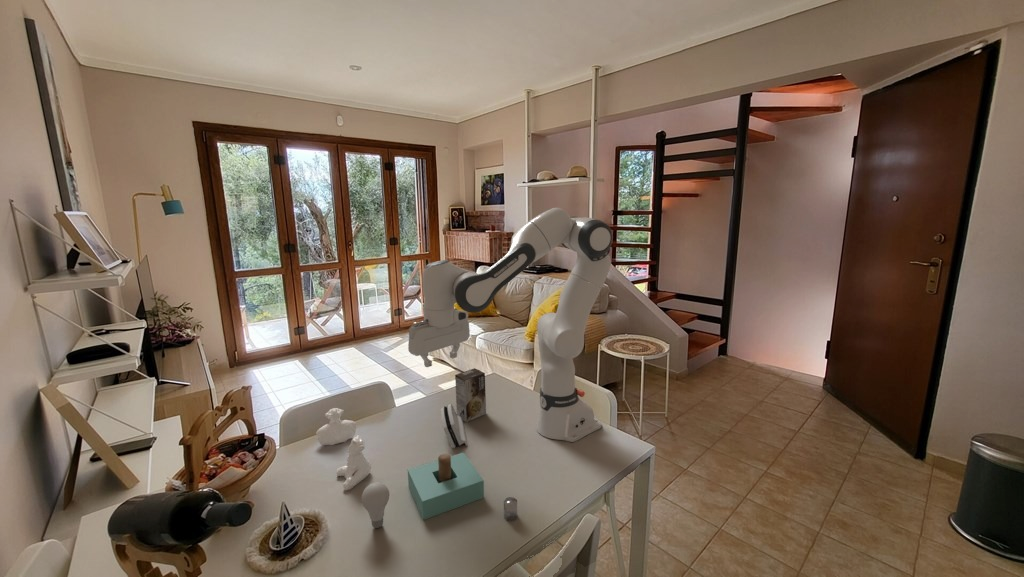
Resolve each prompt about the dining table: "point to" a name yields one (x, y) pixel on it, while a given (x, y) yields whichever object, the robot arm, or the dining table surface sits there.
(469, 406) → the coffee box
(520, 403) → the dining table surface
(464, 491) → the hole block
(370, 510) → the lightbulb
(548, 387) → the robot arm
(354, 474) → the white creature statuette
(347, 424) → the bust
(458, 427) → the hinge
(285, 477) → the dining table surface
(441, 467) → the tall walnut pin
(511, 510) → the short metal pin
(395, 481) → the dining table surface
